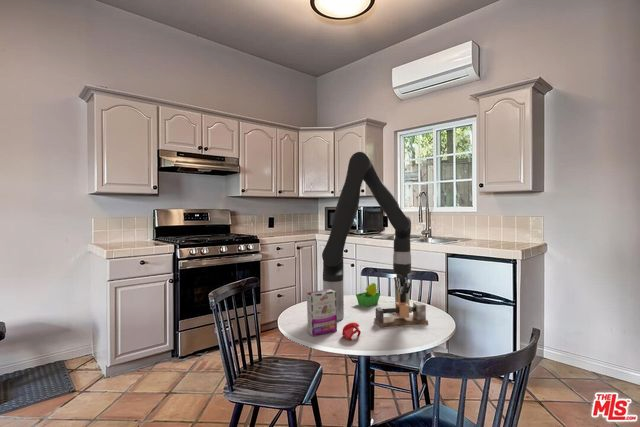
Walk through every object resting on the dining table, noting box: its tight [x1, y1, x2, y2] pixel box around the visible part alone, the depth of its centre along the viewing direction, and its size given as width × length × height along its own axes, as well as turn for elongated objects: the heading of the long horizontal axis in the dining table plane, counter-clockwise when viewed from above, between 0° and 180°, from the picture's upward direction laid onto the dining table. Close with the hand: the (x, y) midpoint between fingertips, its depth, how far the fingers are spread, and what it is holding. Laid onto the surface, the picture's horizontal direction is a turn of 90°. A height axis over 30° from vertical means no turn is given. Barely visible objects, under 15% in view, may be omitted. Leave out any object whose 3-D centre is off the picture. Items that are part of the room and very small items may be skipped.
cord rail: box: [373, 301, 429, 329], centre depth 152 cm, size 21×8×8 cm, turn 100°
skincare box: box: [394, 284, 410, 308], centre depth 173 cm, size 6×4×12 cm
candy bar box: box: [306, 289, 338, 337], centre depth 142 cm, size 11×5×16 cm, turn 117°
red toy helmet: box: [341, 322, 362, 341], centre depth 136 cm, size 8×6×6 cm
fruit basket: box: [355, 282, 381, 307], centre depth 179 cm, size 11×9×11 cm
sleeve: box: [395, 292, 410, 318], centre depth 152 cm, size 4×5×10 cm
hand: (402, 301), depth 152 cm, fingers closed
